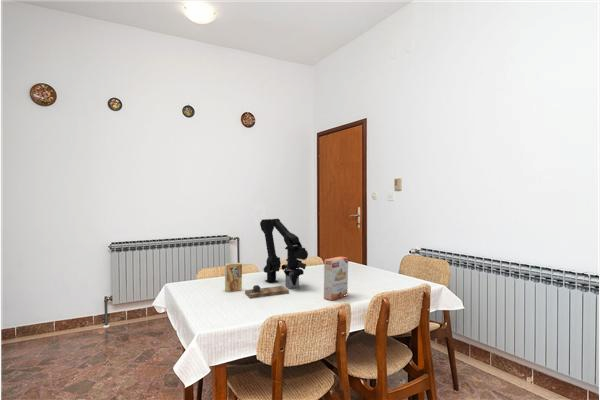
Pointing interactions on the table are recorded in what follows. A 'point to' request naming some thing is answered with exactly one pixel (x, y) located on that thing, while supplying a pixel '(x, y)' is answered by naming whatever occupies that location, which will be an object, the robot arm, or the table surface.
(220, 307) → the table surface
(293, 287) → the metal cube with knob
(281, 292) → the brown flat block
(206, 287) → the table surface
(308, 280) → the table surface
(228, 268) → the candy box
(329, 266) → the cracker box
